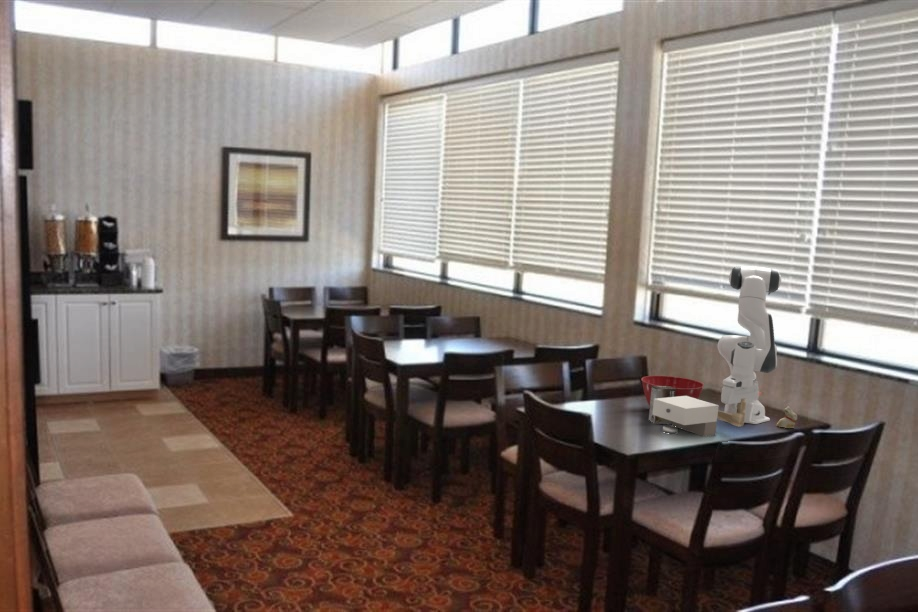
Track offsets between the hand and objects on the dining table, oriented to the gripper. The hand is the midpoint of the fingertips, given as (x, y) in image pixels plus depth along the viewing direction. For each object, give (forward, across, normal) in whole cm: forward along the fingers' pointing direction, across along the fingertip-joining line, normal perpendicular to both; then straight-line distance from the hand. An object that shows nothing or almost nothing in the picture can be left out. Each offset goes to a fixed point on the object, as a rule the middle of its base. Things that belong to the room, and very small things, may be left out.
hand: (738, 412), depth 348 cm
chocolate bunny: (+12, -37, -2) cm, 39 cm away
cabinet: (+10, +18, -13) cm, 25 cm away
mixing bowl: (+12, -1, -39) cm, 41 cm away
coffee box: (+11, +16, -28) cm, 34 cm away
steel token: (+10, +25, -14) cm, 31 cm away
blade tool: (+6, 0, -9) cm, 10 cm away
